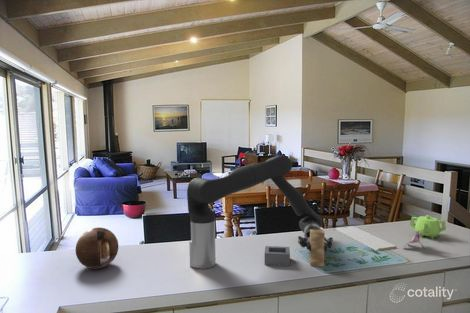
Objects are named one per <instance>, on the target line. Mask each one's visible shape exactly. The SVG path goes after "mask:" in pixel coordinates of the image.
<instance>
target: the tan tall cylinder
mask: <svg viewBox="0 0 470 313" xmlns="http://www.w3.org/2000/svg"><path fill="white" fill-rule="evenodd" d="M325 235H326V234H325V230H324V229H321V230H313V229H310V244H311V251H309V266H311V267H325V252H324V237H325Z"/></svg>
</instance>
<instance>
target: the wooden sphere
mask: <svg viewBox="0 0 470 313" xmlns="http://www.w3.org/2000/svg"><path fill="white" fill-rule="evenodd" d="M118 252H119V241H118V238H117V237H116V235H115V234H114V232H113V231H111V230H110V229H108V228H105V227H93V228H90V229H87V230H86V231H84V233H82V235H80V237H79V238H78V240H77V242H76V244H75V255H76V258H77V260H78V261H79V263H80V264H81V265H82V266H84V267H86V268H88V269H91V270H97V269H98V270H99V269H103V268H105V267H107V266H108V265H110V264H111V263H112V262H113V261H115V259H116V257H117V255H118Z"/></svg>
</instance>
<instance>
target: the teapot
mask: <svg viewBox="0 0 470 313" xmlns="http://www.w3.org/2000/svg"><path fill="white" fill-rule="evenodd" d="M440 224H441V225H440ZM409 225H410V226H411V227H412V228H414V231H415V234H416V233H417V232H418V231H419V230H420V229H421V230H422V229H423V228H424V229H423V230H422V231H421V230H420V231H421V232H420V231H419V232H420V235H419V238H423V237H424V236H425V237H429V239H432V240H435V237H436V238H437V237H438V236H439V234H440V233H441V232H443V231H446V229H447V228H446V227H447V226H446V221H445V220H439V219H438V218H436V217H432V216H431V215H428V214H426V215H425V216H422V215H421V216H419V217H418V216H417V217H416V216H411V219H410V222H409ZM440 226H441V227H440Z"/></svg>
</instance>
